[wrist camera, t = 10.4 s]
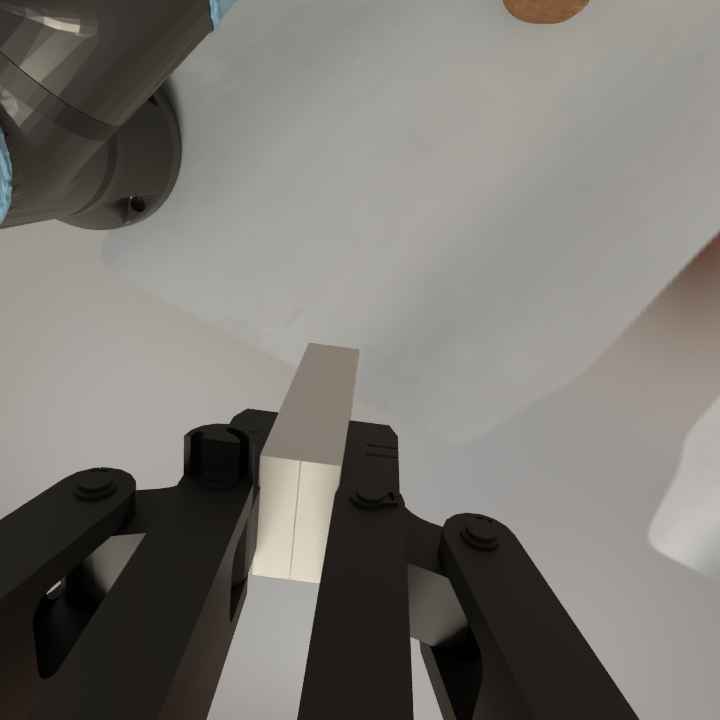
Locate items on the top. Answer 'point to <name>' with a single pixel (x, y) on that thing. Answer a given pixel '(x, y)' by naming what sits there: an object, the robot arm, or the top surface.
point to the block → (544, 10)
